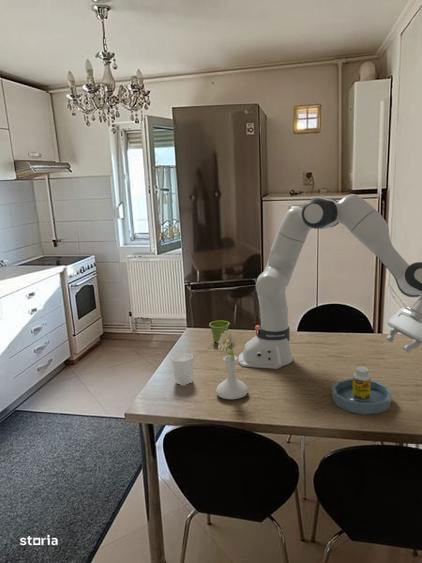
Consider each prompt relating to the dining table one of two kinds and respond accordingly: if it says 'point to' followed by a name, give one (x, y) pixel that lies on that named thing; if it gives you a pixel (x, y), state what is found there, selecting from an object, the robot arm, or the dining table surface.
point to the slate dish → (374, 405)
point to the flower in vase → (230, 372)
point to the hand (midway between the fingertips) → (396, 345)
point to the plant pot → (218, 329)
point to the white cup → (183, 368)
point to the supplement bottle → (361, 384)
